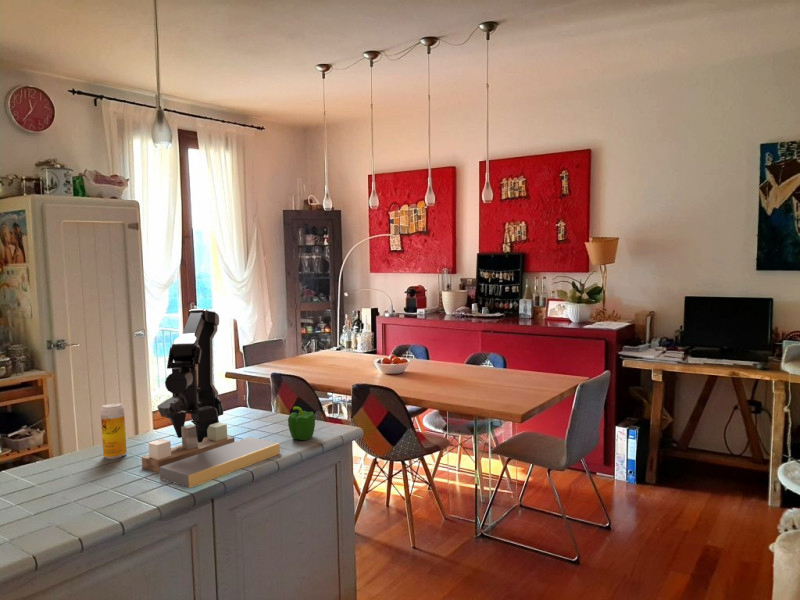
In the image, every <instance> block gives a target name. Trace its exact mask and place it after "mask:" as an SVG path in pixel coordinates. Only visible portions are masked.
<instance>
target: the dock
mask: <svg viewBox="0 0 800 600" xmlns="http://www.w3.org/2000/svg"><path fill="white" fill-rule="evenodd" d="M280 454H281V444H280V443H279V442H275V441H271V440H266V439H261V438H257V437H252V436H248V437H245V438H242V439H240V440H235V442H233V443H230V444H227V445H224V446H221V447H218V448H215V449H212V450H209V451H206V452H203V453H200V454H197V455H194V456H191V457H188V458H185V459H182V460H179V461H176V462H173V463H170V464H167V465H164V466H161V467H160V473H159V478H160V480H163V479H164V481H167V480H168V481H167V482H170V481H171V483H173V482H175V483H174V484H176V483H178V484H177V485H179V484H181V485H180V486H182V485H184V486H183V487H186V488H189V487H190V488H189V489H192V488H194V486H195V487H197V486H199V484H200V485H202V484H204V483H207V481H208V482H209V481H213V480H214V479H215V480H216V479H217V478H221V477H223V476H225V474H226V475H229V474H230V473H233V471H234V472H236V471H239V470H242V469H243V468H246V466H247V467H249V466H251V465H255V464H256V463H259V462H262V461H264V460H267V459H271V458H272V457H275V456H277V455H280ZM238 469H239V470H238ZM235 470H236V471H235ZM220 476H221V477H220ZM212 479H213V480H212ZM191 487H192V488H191Z"/></svg>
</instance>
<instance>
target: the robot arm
mask: <svg viewBox="0 0 800 600" xmlns="http://www.w3.org/2000/svg"><path fill="white" fill-rule="evenodd" d="M219 316H220V315H219V314H218V313H216V311H214V310H213V311H210V310H207V309H205V308H192V309H189V310H188V318H187V321H186V323H185V326H184V328H183V331H182V334H181V335H180V336H178V337H176V338H175V339H174V341H173V343H171V344H172V345H171V346H170V348H169V353H168V359H167V365H166V369H167V370H169V369H171V373H170V374H168V375H167V377H166V378H165V381H164V385H165V388H166V390H167V391H168V392H170V393H172V396H171V397H170V398H167V399H166V400H164V401H162V402H161V403H160V404H158V405H157V411H158V412H159V414H160V417H161V418H167V419H168V420H170V422H171V423H172V426H173V428H174V431H175V433H176V436H177V438H178V439H182V431H181V427H182V426H185V423H186V418H187V417H186V416H187V414H188V415H190V418H191V419H192V420H190V422H191V423H192V425H195V426H196V433H197V440H198V443H200V442H202V441H203V438H205V437H208V436H207V429H208V427H209V425H211V424H214V423H220V421H219V417H220V416H223V415H224V406H223V403H222V401H221V399H220V397H219V391H218V390H217V388H216V386H215V385H214V374H213V373H214V370H213V368H214V365H213V364H214V363H213V361H214V360H213V356H214V355H213V354H214V353H213V338H214V337H215V335H216V334H217V332H218V326H220V325H219V324H220V317H219Z"/></svg>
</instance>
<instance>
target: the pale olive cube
mask: <svg viewBox="0 0 800 600" xmlns="http://www.w3.org/2000/svg"><path fill="white" fill-rule="evenodd" d="M207 436H208V439H210V440H214V441H218V440H221V439H224V438H227V436H228V425H227V423H222V422H219V423H214V424H211V425H209V427H208V429H207Z"/></svg>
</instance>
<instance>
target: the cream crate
mask: <svg viewBox="0 0 800 600" xmlns="http://www.w3.org/2000/svg"><path fill="white" fill-rule="evenodd" d="M171 448H172V447H171V441H170V440H167V439H164V438H160V439H157V440H154V441H150V442H148V455H149V457H150V458H154V459H157V460H159V459H162V458H165V457H168V456H171Z"/></svg>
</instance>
